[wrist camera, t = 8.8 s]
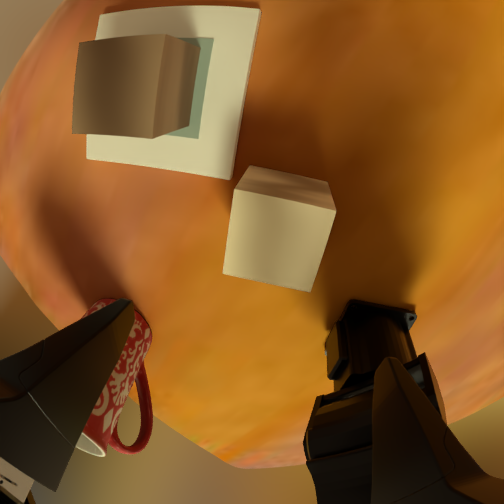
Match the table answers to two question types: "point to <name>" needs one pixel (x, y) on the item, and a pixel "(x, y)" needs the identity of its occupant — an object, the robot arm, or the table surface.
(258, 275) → the maple cube
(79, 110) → the walnut cube
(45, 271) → the table surface
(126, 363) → the mug
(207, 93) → the plate
